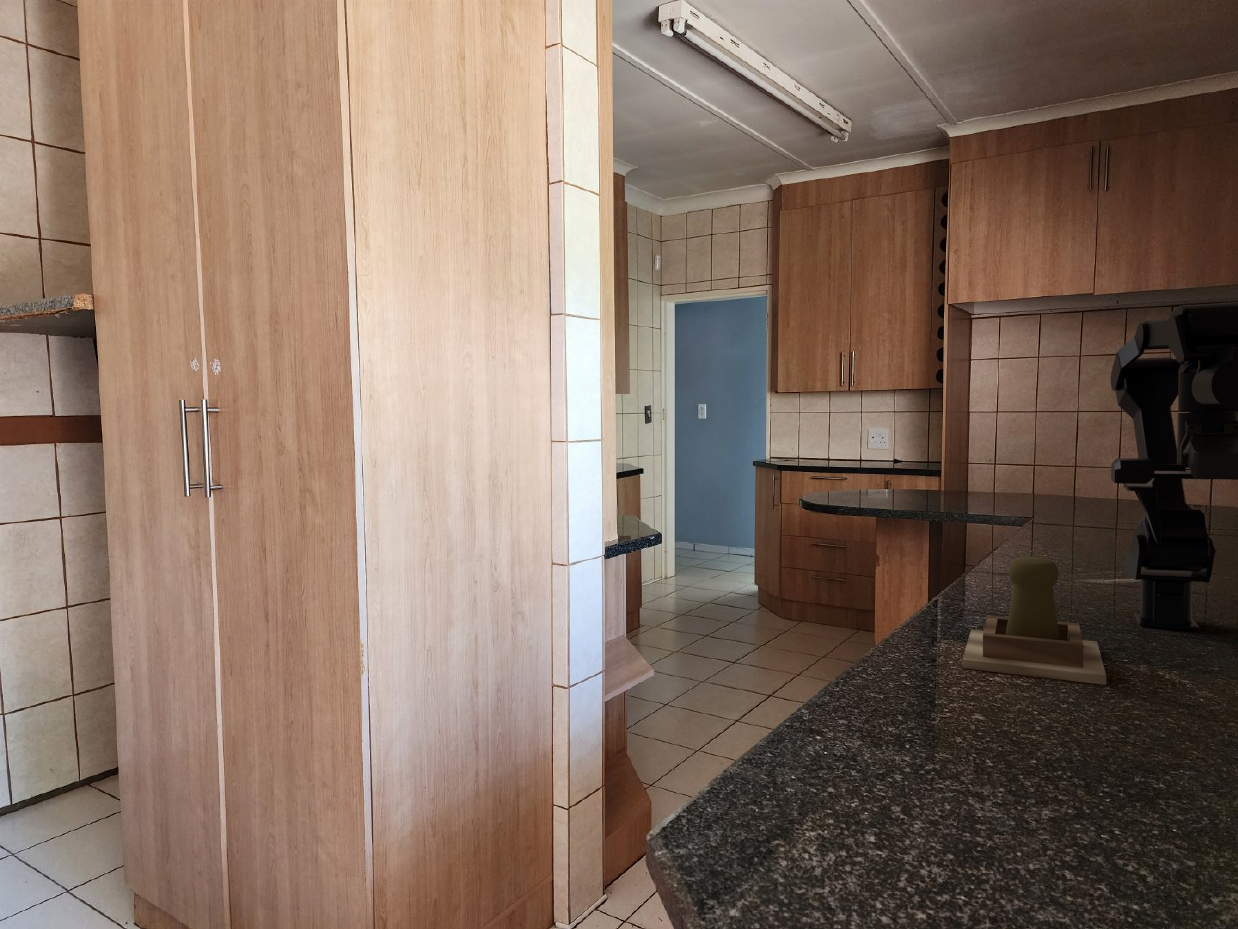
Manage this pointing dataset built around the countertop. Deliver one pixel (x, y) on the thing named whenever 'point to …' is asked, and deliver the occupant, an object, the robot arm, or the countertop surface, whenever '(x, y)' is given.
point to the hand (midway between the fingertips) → (1205, 544)
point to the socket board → (1035, 653)
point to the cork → (1033, 598)
